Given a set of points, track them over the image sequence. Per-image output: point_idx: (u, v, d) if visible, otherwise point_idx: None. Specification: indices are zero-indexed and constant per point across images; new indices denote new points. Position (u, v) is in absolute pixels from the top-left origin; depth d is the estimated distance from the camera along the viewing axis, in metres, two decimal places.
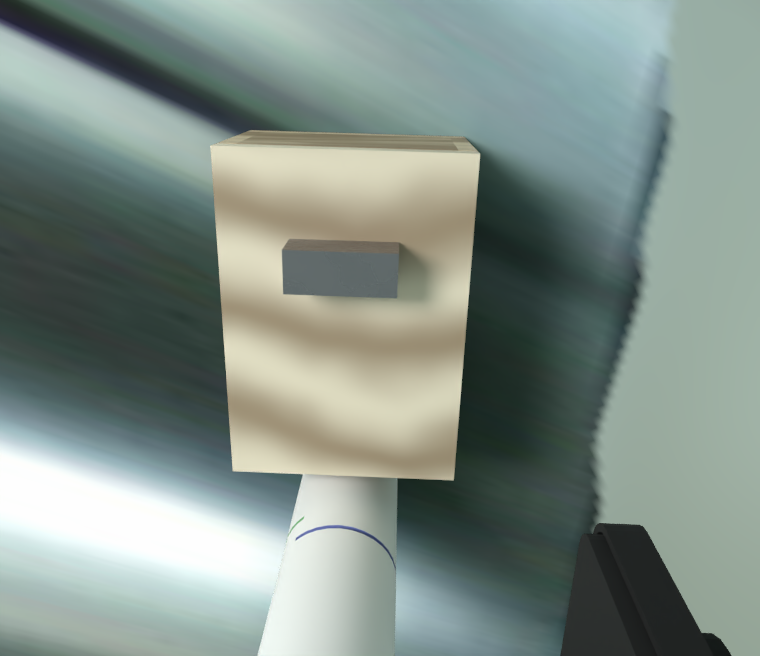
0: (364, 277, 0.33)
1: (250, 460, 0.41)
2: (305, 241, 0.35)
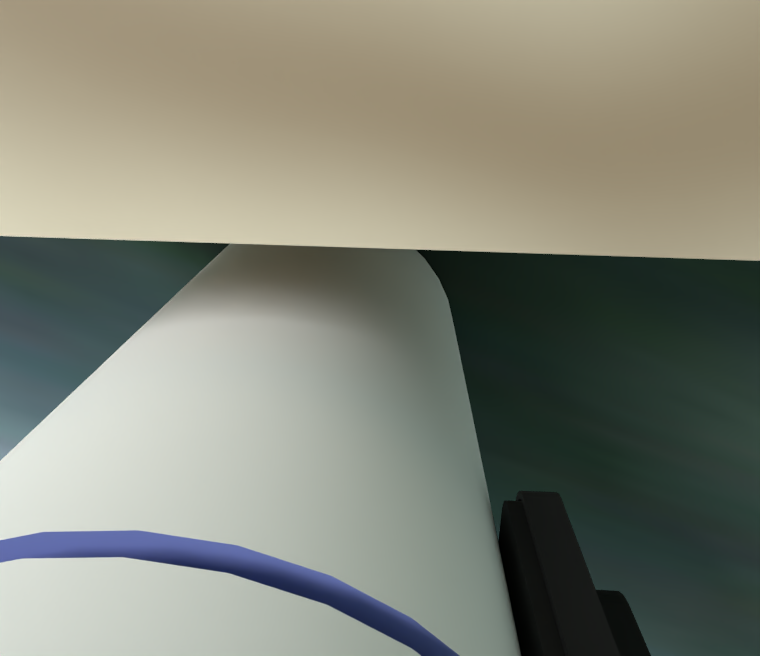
0: None
1: None
2: None
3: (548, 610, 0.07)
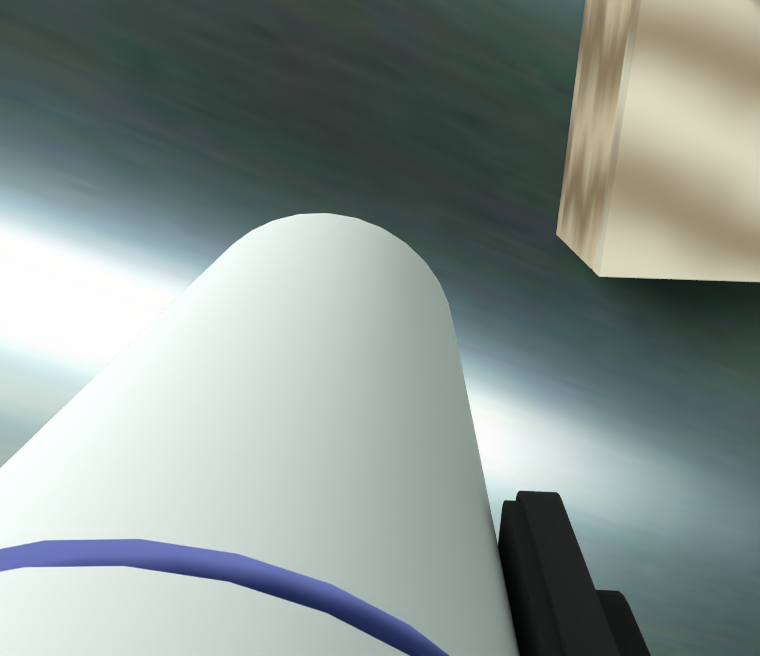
0: None
1: (625, 260, 0.32)
2: None
3: (548, 610, 0.07)
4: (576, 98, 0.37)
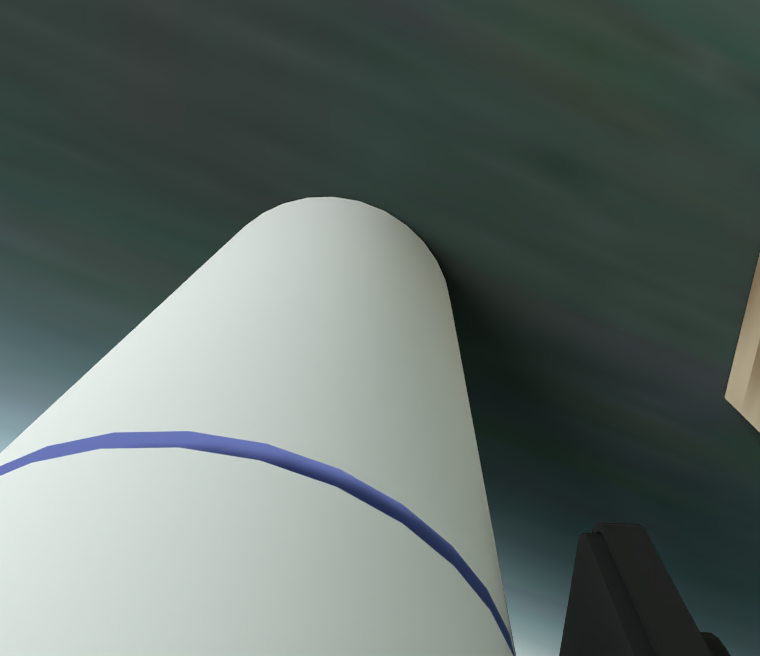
0: None
1: None
2: None
3: None
4: None
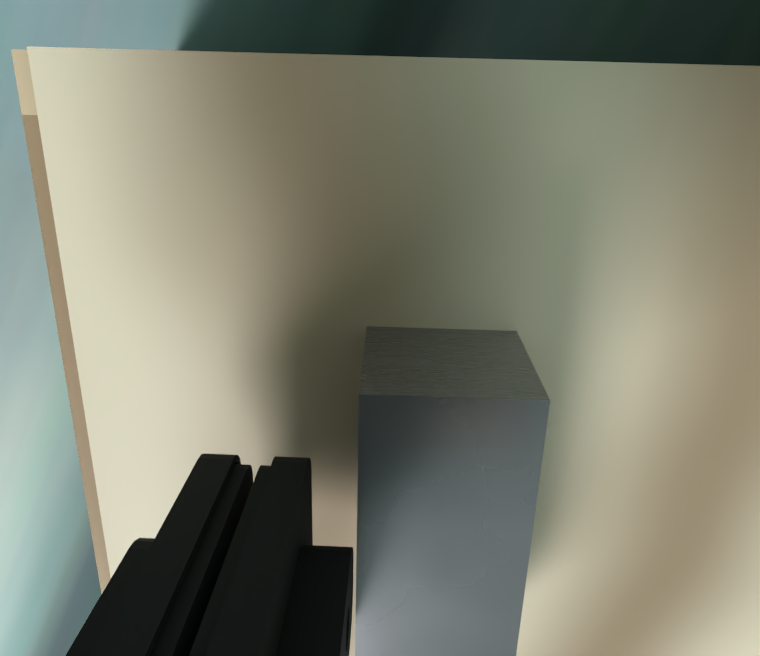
0: (456, 513, 0.09)
1: None
2: None
3: (238, 556, 0.07)
4: None
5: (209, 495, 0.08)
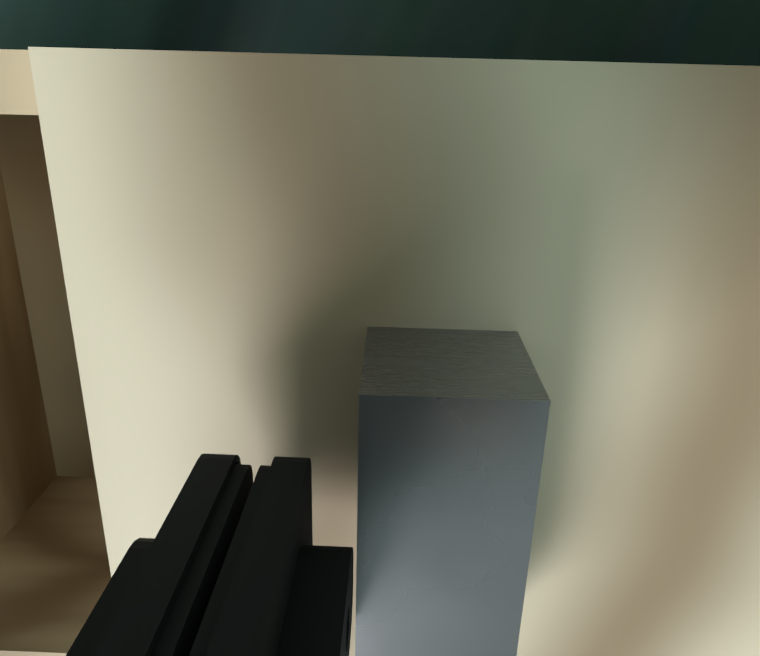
0: (456, 513, 0.09)
1: None
2: None
3: (238, 556, 0.07)
4: None
5: (209, 495, 0.08)
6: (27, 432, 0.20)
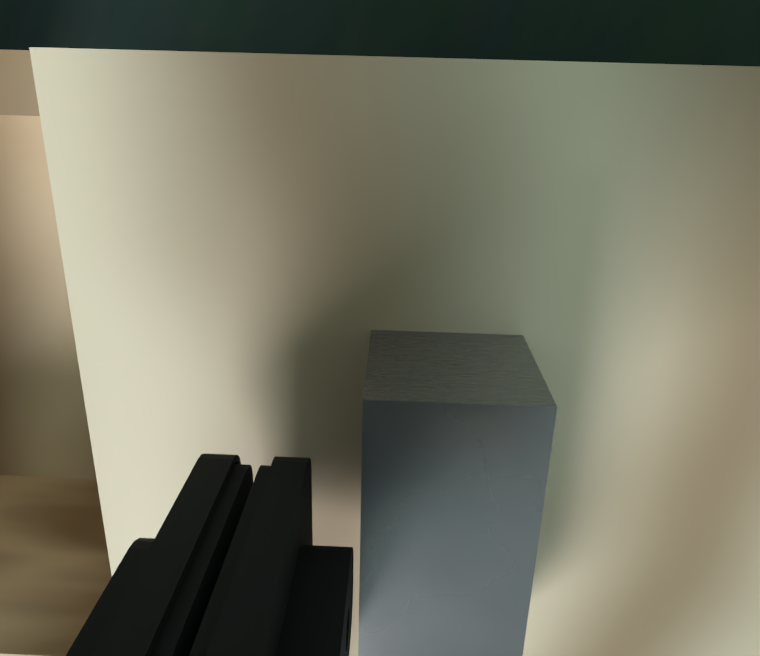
0: (460, 520, 0.09)
1: None
2: None
3: (238, 556, 0.07)
4: None
5: (209, 495, 0.08)
6: None
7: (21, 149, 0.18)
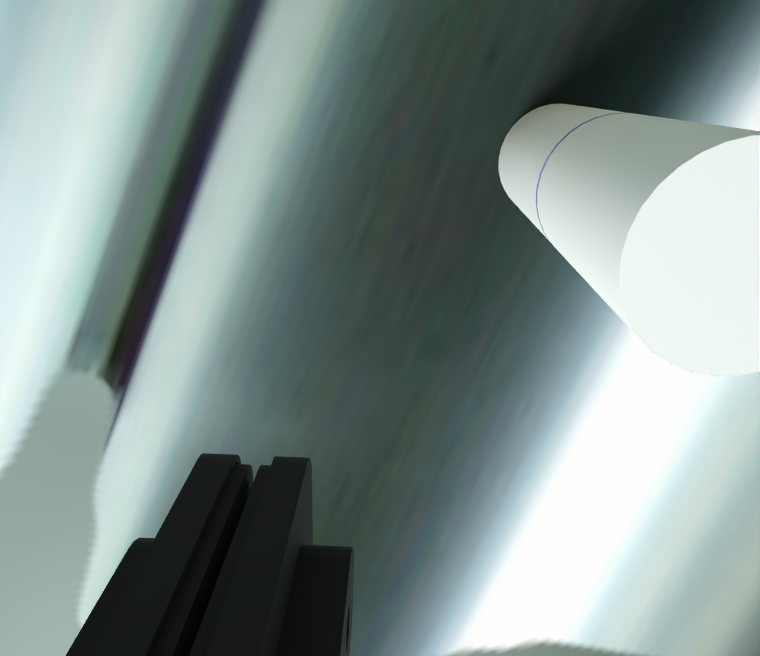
0: None
1: None
2: None
3: (238, 556, 0.07)
4: None
5: (209, 495, 0.08)
6: None
7: None
